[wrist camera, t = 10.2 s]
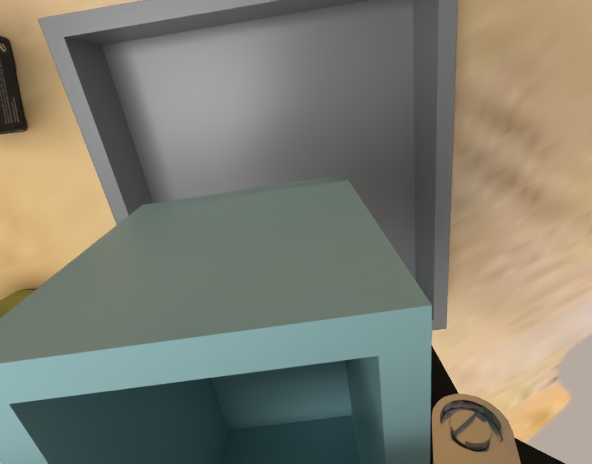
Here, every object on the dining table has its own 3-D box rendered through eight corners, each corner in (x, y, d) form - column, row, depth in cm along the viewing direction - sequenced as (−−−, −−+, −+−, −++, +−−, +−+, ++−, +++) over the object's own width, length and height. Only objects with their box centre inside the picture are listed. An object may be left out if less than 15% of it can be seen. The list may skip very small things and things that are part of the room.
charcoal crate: (423, -25, 22) (459, -55, 17) (423, 292, 31) (446, 328, 26) (89, 32, 22) (37, 18, 18) (187, 324, 32) (170, 364, 27)
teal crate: (344, 174, 9) (432, 305, 4) (366, 410, 13) (427, 660, 7) (142, 204, 9) (-68, 372, 4) (218, 428, 13) (166, 686, 7)
